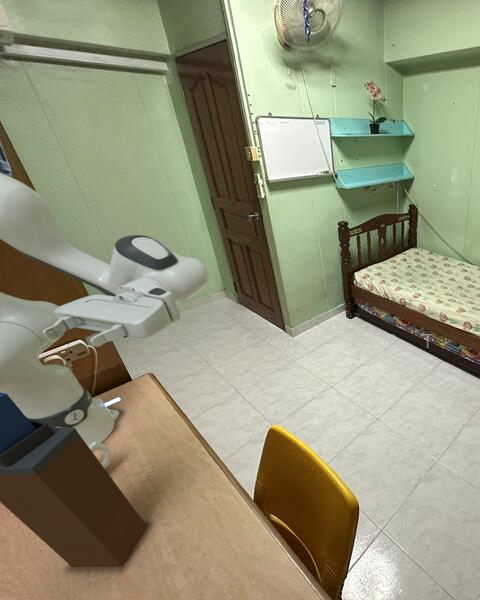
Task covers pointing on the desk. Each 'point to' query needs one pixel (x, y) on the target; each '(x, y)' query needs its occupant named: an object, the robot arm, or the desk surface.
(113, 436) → the desk surface
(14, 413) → the small dark blue block
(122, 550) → the tall brown bin
